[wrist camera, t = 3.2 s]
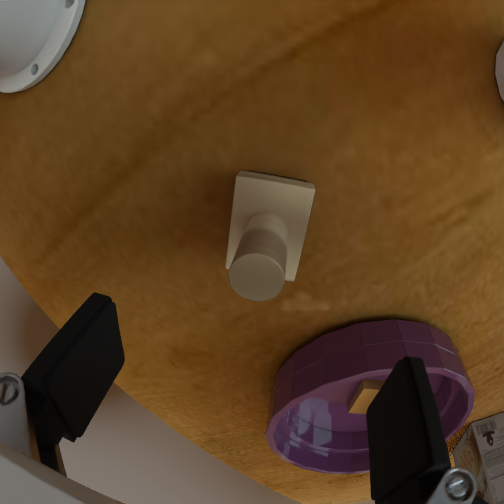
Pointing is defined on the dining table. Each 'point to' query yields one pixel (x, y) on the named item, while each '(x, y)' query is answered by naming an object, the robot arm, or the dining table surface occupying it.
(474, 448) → the coffee box
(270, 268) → the beige stamp
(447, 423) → the bowl
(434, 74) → the dining table surface
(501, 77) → the white cup
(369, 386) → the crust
